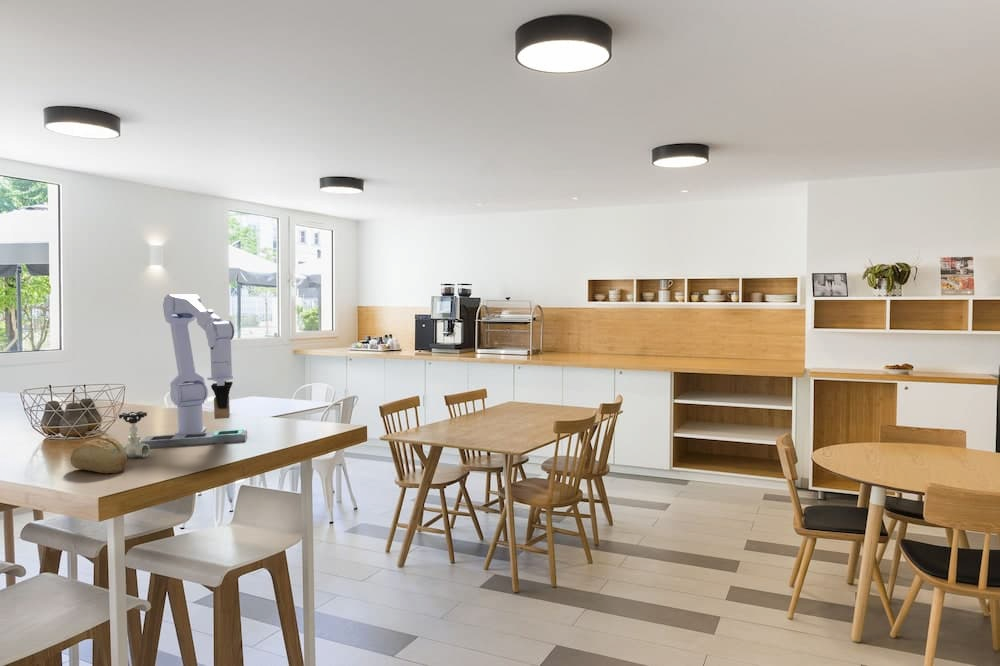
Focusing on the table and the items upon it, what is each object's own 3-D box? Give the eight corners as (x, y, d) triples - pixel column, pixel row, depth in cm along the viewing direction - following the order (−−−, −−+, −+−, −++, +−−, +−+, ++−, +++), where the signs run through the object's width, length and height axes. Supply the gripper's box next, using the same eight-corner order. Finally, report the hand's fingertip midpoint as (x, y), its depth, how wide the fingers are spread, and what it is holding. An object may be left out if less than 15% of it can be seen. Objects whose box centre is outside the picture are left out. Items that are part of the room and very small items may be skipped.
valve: (136, 461, 181) (134, 415, 180) (115, 460, 182) (113, 415, 181) (154, 455, 187) (152, 411, 187) (133, 454, 188) (131, 411, 188)
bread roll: (94, 464, 178) (93, 433, 177) (139, 468, 173) (137, 436, 172) (59, 473, 169) (58, 441, 168) (105, 478, 164) (104, 444, 163)
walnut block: (215, 416, 206) (214, 397, 206) (229, 415, 208) (229, 396, 207) (214, 418, 203) (213, 398, 202) (229, 418, 204) (228, 397, 204)
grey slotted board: (146, 443, 204) (146, 435, 203) (247, 436, 211) (247, 429, 211) (140, 448, 196) (140, 440, 196) (245, 441, 204) (245, 433, 203)
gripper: (208, 360, 210) (210, 404, 211) (204, 364, 196) (206, 411, 197) (233, 359, 212) (234, 403, 213) (231, 363, 199) (233, 410, 199)
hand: (222, 407), depth 205 cm, fingers closed on walnut block, 4 cm apart
